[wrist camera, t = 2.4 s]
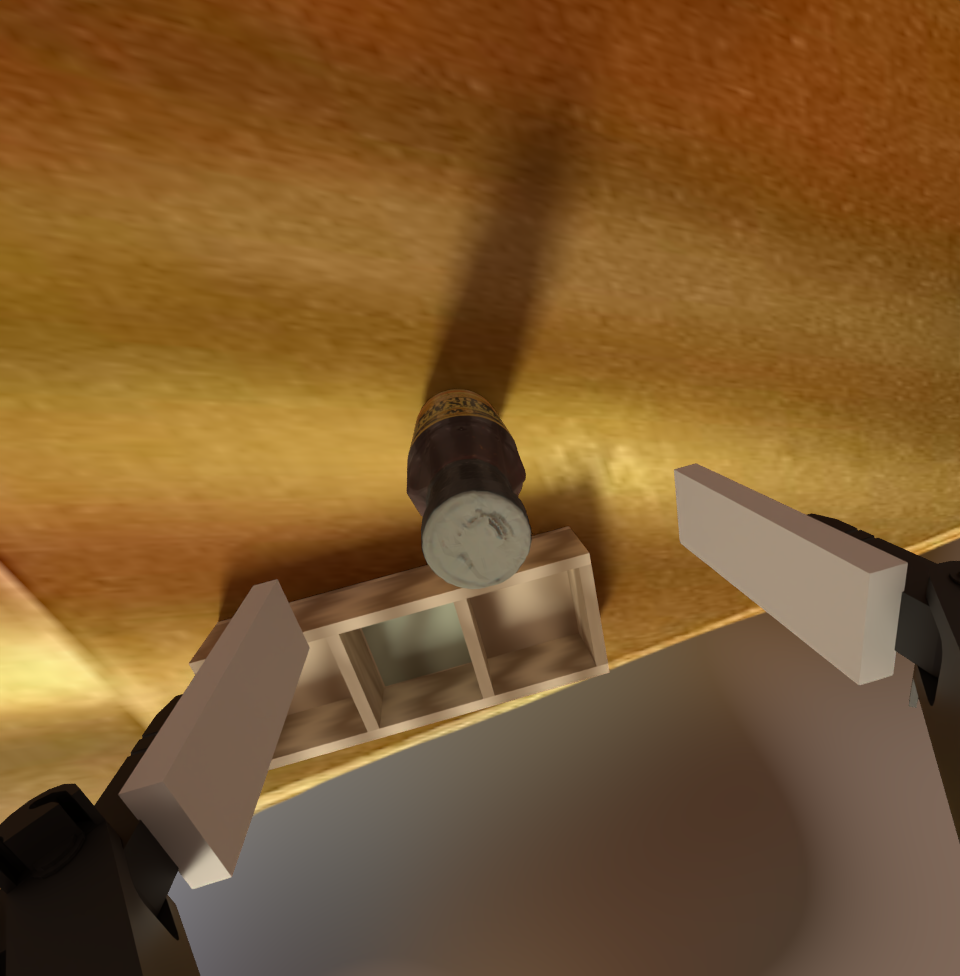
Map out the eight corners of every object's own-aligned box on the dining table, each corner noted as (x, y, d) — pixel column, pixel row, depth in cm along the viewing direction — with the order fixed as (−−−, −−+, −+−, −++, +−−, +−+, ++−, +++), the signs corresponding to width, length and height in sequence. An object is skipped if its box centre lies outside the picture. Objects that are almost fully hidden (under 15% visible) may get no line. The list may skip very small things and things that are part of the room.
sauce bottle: (490, 380, 33) (576, 439, 15) (499, 458, 36) (584, 597, 17) (404, 393, 33) (381, 470, 14) (419, 471, 35) (415, 628, 16)
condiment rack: (568, 526, 38) (589, 553, 34) (588, 635, 43) (609, 672, 38) (217, 622, 37) (188, 663, 33) (273, 724, 41) (255, 773, 37)
